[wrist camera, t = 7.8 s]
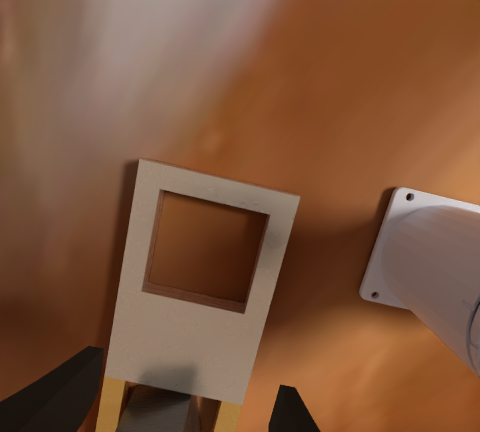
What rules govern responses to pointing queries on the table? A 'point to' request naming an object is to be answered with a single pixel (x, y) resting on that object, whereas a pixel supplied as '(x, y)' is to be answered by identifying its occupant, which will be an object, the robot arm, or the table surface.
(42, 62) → the table surface
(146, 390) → the grey knobbed block
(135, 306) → the plate with square hole
